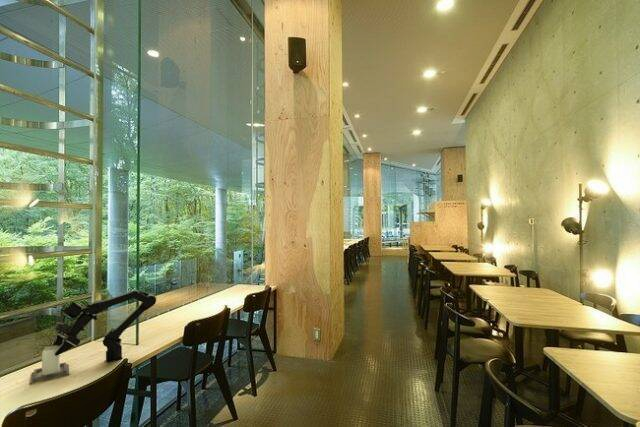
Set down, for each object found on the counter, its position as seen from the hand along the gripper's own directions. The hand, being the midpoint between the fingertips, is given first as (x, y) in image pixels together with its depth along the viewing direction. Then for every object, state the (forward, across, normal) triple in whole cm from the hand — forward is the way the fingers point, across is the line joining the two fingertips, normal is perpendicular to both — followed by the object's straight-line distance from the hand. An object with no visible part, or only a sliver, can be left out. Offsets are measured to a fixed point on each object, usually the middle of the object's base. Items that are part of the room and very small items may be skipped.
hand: (52, 353), depth 155 cm
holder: (+8, 0, +6) cm, 10 cm away
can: (+7, 0, +6) cm, 10 cm away
